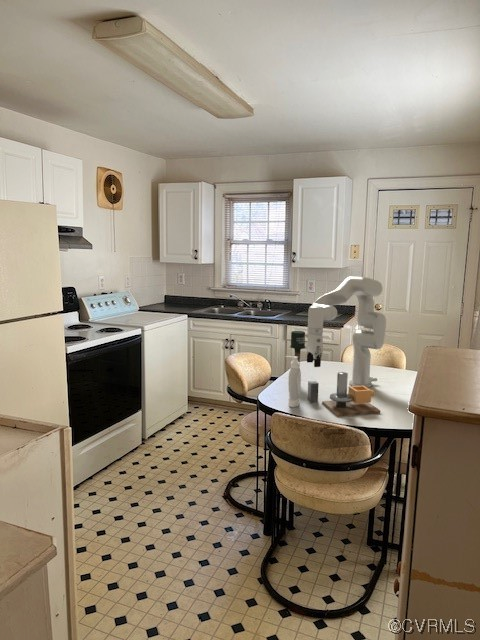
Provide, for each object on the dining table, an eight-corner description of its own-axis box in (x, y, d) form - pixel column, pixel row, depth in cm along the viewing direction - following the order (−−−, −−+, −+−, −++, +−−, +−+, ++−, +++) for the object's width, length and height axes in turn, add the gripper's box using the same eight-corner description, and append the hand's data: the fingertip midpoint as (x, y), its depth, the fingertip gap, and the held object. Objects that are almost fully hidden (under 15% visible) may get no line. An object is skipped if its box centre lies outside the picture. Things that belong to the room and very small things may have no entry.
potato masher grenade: (294, 386, 267) (296, 333, 262) (286, 382, 274) (287, 331, 270) (307, 384, 271) (308, 332, 266) (298, 380, 278) (300, 330, 273)
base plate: (362, 401, 242) (362, 398, 242) (380, 413, 225) (380, 410, 224) (322, 404, 237) (322, 401, 237) (337, 416, 220) (337, 413, 219)
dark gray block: (314, 399, 243) (315, 381, 242) (317, 402, 239) (318, 383, 238) (307, 400, 242) (308, 381, 241) (310, 402, 239) (311, 383, 237)
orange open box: (369, 396, 237) (369, 385, 236) (377, 401, 229) (378, 389, 228) (348, 398, 234) (348, 386, 233) (355, 403, 226) (356, 391, 225)
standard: (346, 402, 236) (348, 369, 233) (356, 409, 225) (358, 375, 223) (325, 403, 233) (327, 370, 231) (335, 411, 223) (336, 377, 220)
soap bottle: (287, 399, 244) (288, 353, 240) (302, 401, 241) (303, 354, 237) (280, 407, 232) (281, 358, 228) (295, 409, 229) (297, 360, 225)
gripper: (329, 333, 228) (327, 368, 230) (315, 328, 244) (313, 360, 247) (314, 334, 226) (312, 369, 228) (301, 328, 243) (300, 360, 245)
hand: (313, 364), depth 238 cm, fingers open, 9 cm apart
